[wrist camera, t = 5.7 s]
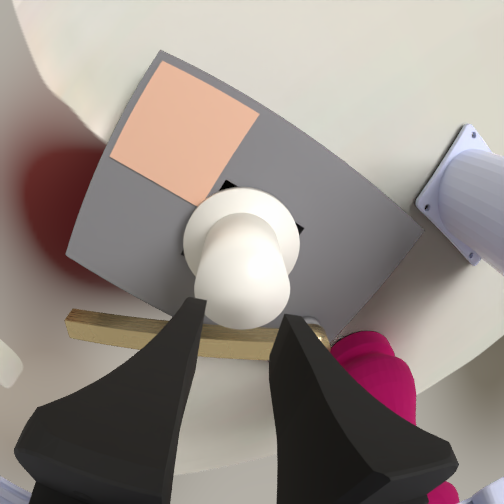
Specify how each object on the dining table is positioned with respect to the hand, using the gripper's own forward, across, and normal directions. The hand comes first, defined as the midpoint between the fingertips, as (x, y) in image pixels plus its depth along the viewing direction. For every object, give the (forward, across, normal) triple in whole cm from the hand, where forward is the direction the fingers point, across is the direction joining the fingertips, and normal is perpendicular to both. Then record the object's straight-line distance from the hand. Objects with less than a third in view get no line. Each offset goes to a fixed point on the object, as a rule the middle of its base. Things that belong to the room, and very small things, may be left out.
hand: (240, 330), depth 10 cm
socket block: (+10, 0, 0) cm, 10 cm away
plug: (+10, 0, 0) cm, 10 cm away
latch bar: (+7, +2, +6) cm, 9 cm away
